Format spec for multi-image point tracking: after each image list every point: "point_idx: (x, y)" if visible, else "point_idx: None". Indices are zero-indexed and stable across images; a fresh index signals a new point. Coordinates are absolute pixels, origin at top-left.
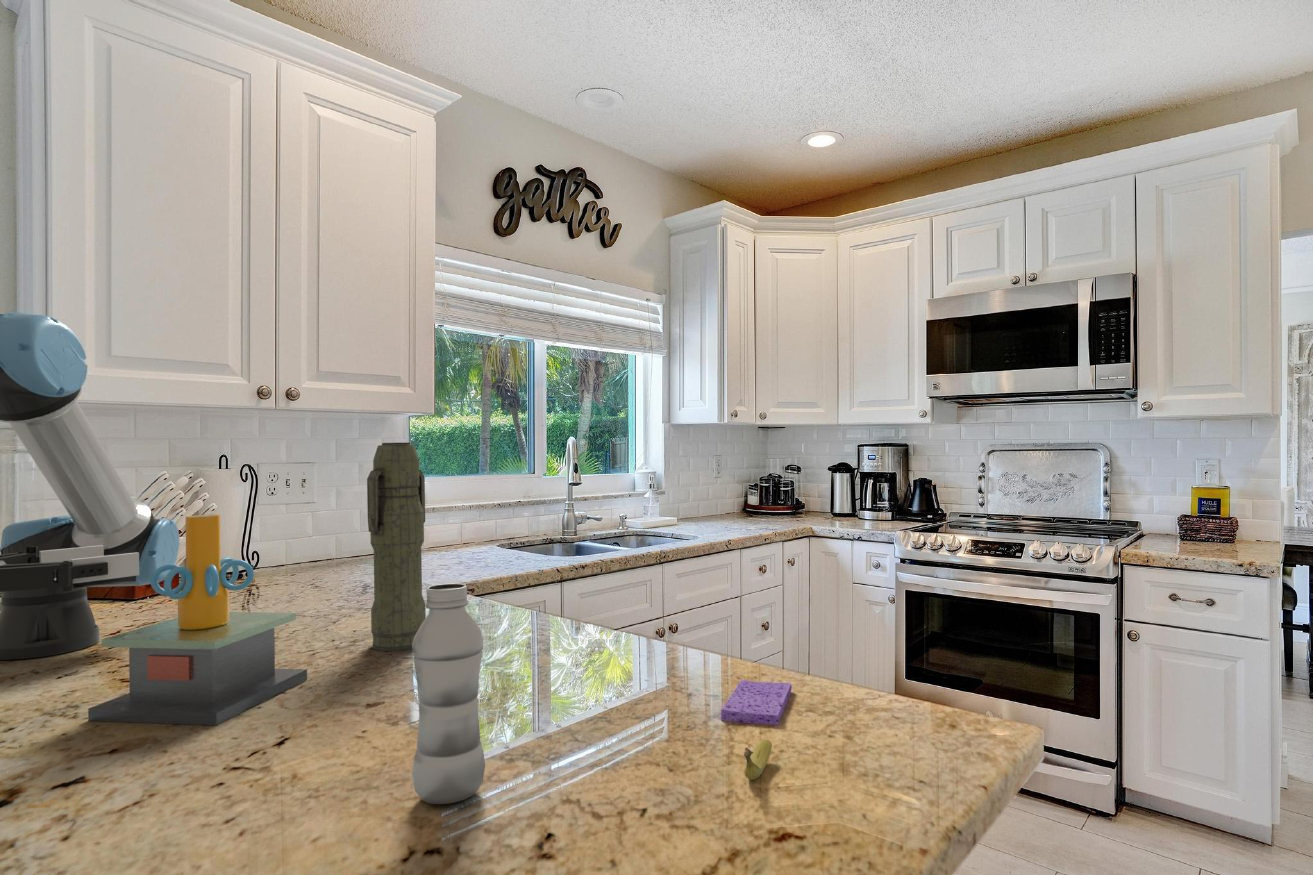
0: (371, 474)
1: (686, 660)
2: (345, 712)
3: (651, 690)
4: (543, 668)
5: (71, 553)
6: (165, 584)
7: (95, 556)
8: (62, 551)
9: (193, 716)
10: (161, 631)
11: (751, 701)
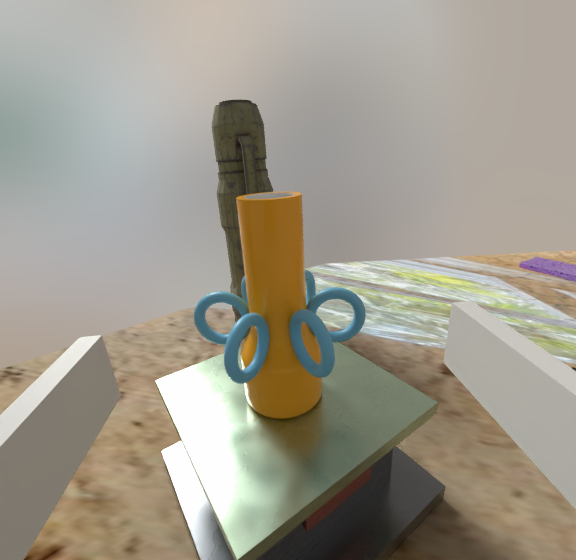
0: (244, 140)
1: (446, 263)
2: (462, 390)
3: (503, 282)
4: (414, 293)
5: (45, 424)
6: (332, 357)
7: (98, 382)
8: (13, 444)
9: (421, 515)
10: (272, 444)
11: (569, 269)
